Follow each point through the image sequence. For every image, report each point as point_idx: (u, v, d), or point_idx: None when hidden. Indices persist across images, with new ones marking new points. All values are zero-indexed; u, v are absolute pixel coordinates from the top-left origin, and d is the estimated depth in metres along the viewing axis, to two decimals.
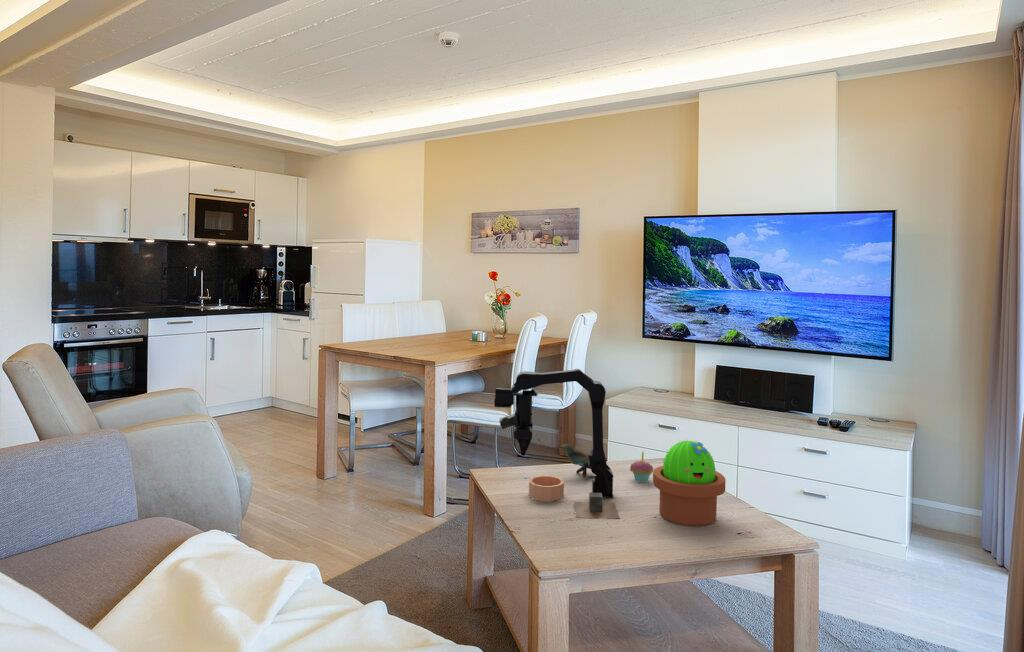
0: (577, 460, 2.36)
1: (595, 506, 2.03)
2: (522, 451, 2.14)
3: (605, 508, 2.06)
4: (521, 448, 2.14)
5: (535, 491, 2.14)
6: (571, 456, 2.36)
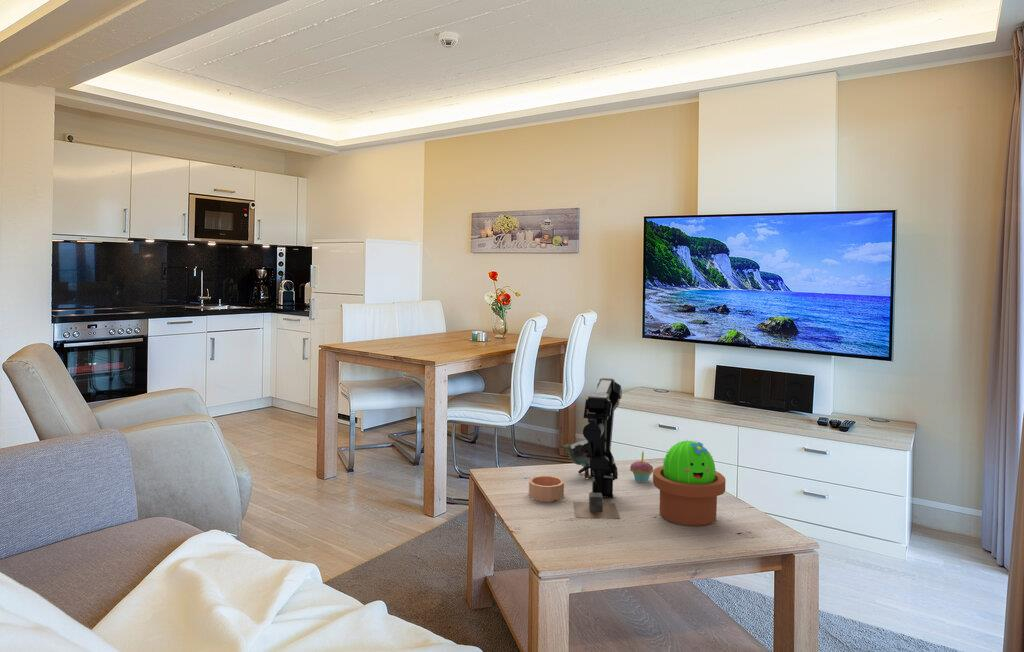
0: (580, 461, 2.36)
1: (595, 506, 2.03)
2: (597, 481, 1.99)
3: (605, 508, 2.06)
4: (596, 478, 1.98)
5: (535, 491, 2.14)
6: (573, 456, 2.36)
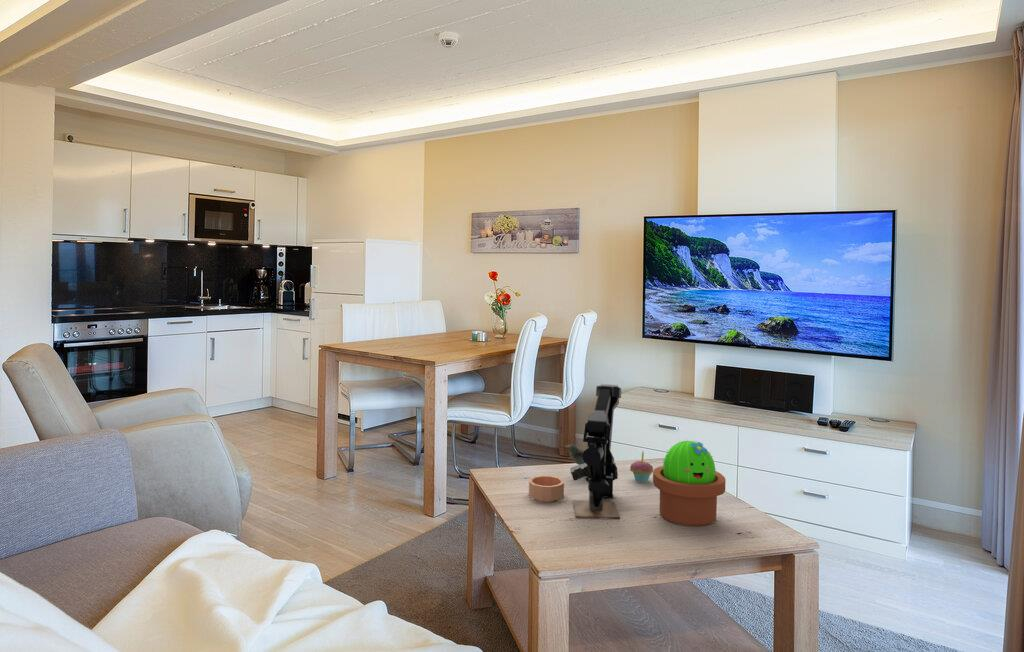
0: (582, 461, 2.36)
1: None
2: (596, 502, 2.02)
3: (605, 507, 2.06)
4: (595, 499, 2.01)
5: (535, 491, 2.14)
6: (576, 456, 2.36)
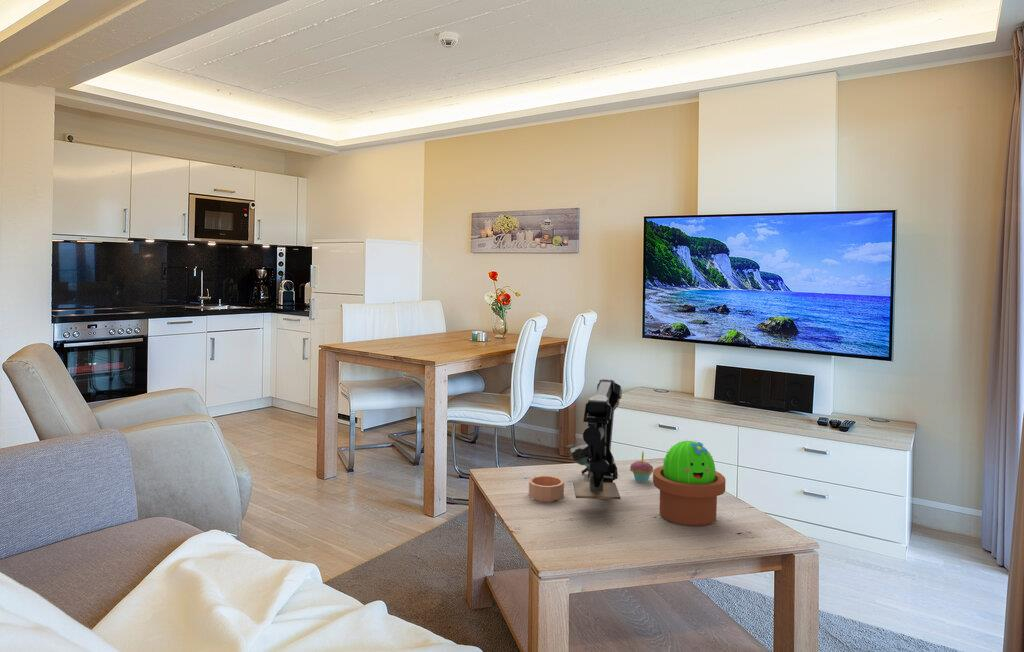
0: (583, 461, 2.36)
1: None
2: (596, 482, 2.01)
3: (605, 487, 2.05)
4: (595, 479, 2.01)
5: (535, 491, 2.14)
6: None
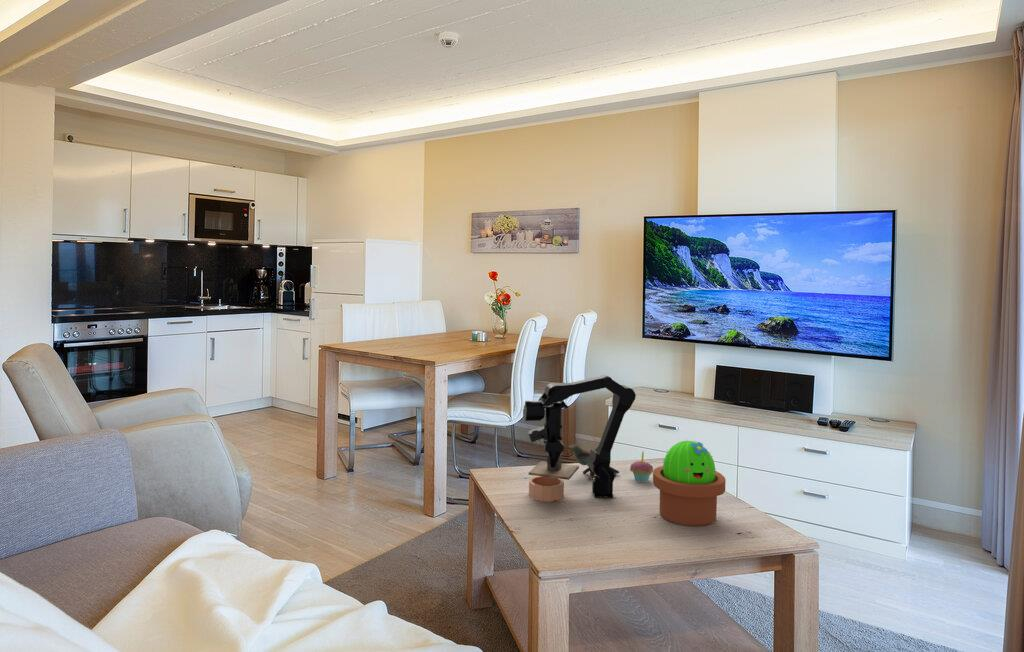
0: (585, 461, 2.36)
1: None
2: (552, 463, 2.12)
3: (564, 469, 2.16)
4: (551, 460, 2.12)
5: (535, 491, 2.14)
6: (579, 457, 2.35)
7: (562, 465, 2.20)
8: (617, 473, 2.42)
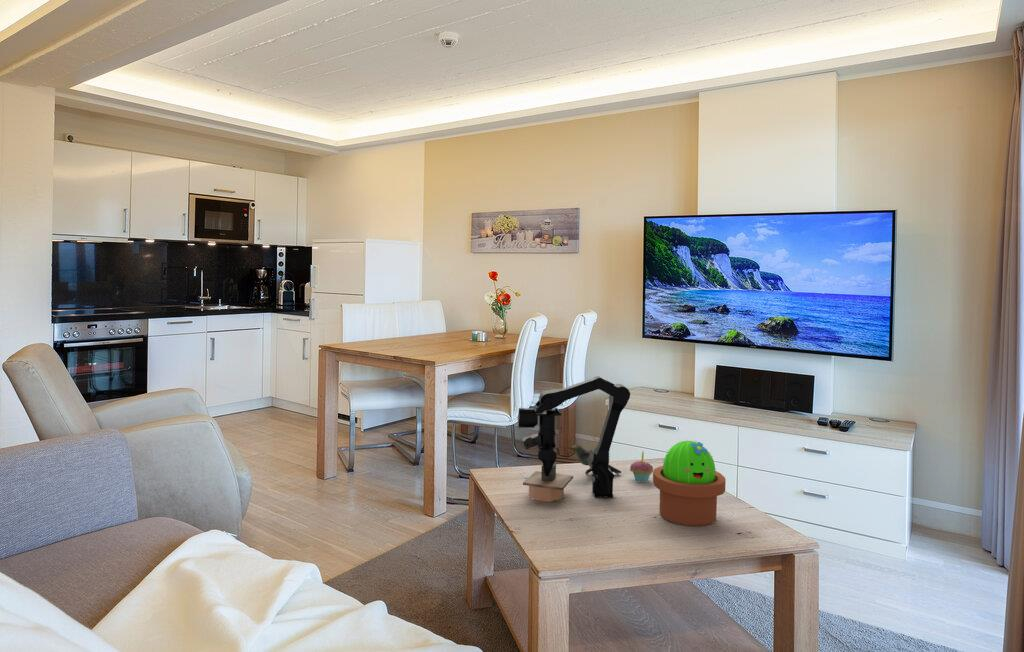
0: (588, 461, 2.36)
1: None
2: (546, 471, 2.12)
3: (558, 479, 2.18)
4: (545, 468, 2.12)
5: (535, 491, 2.14)
6: (582, 457, 2.35)
7: (556, 475, 2.22)
8: (619, 473, 2.42)
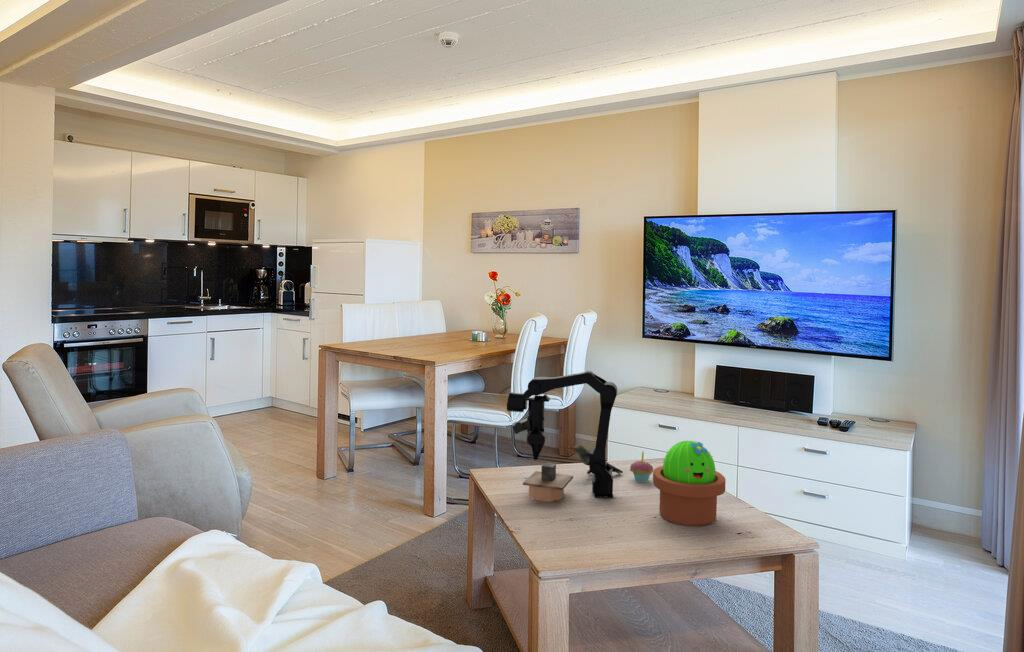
0: None
1: (546, 475, 2.16)
2: (534, 455, 2.18)
3: (558, 479, 2.18)
4: (534, 452, 2.18)
5: (535, 491, 2.14)
6: (584, 457, 2.35)
7: (556, 475, 2.22)
8: None
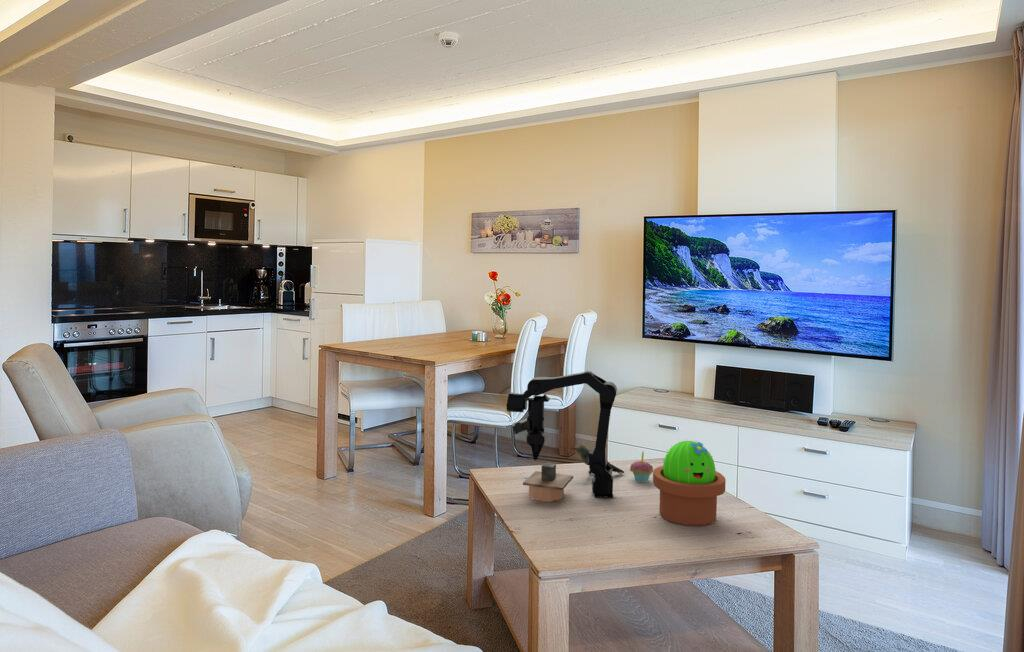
0: None
1: (546, 475, 2.16)
2: (534, 455, 2.18)
3: (558, 479, 2.18)
4: (533, 453, 2.18)
5: (535, 491, 2.14)
6: (586, 457, 2.35)
7: (556, 475, 2.22)
8: (622, 473, 2.42)
